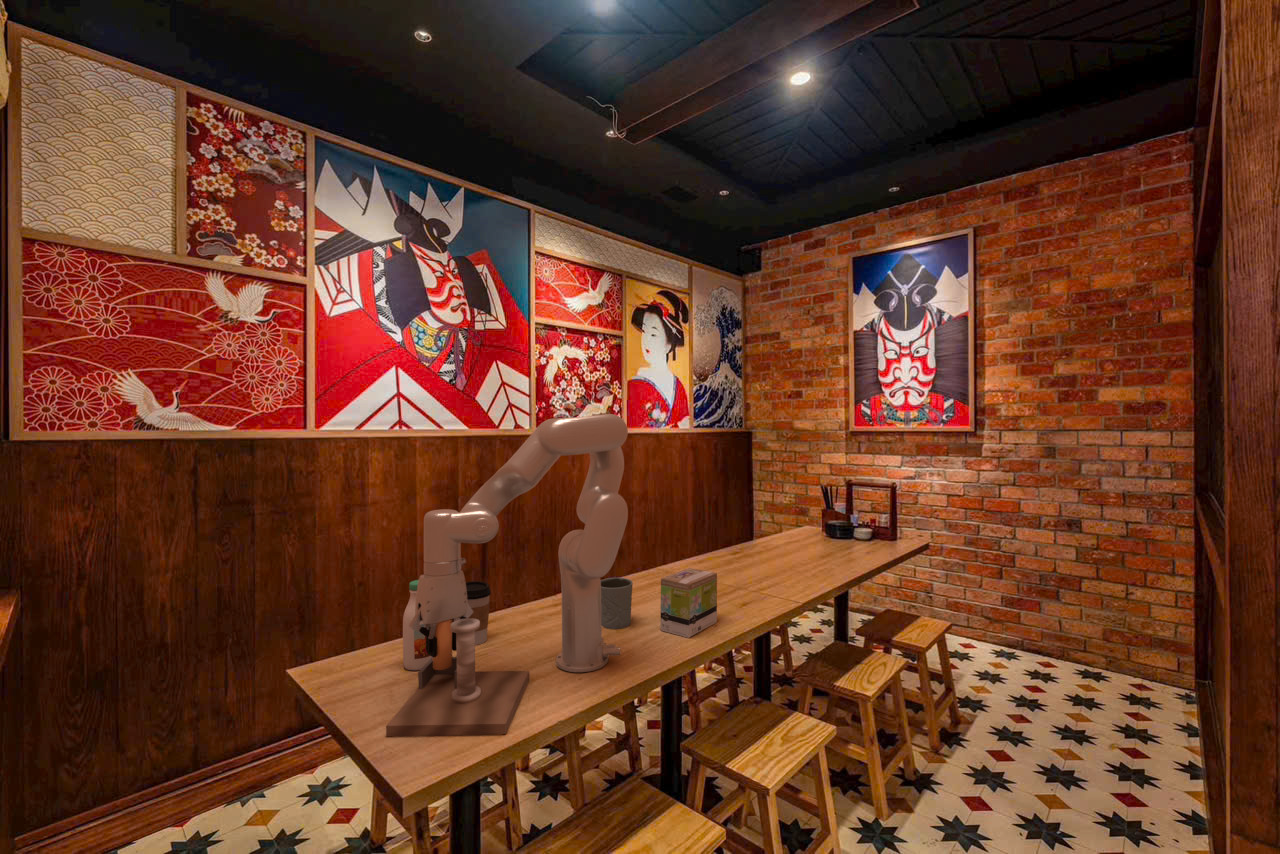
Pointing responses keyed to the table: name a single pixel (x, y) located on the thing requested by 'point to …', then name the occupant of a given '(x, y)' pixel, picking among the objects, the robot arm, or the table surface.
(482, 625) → the coffee cup
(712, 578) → the tea box
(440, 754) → the table surface
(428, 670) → the notch block
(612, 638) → the table surface
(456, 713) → the board
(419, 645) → the milk bottle
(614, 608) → the grey green embossed cup
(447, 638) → the plug
